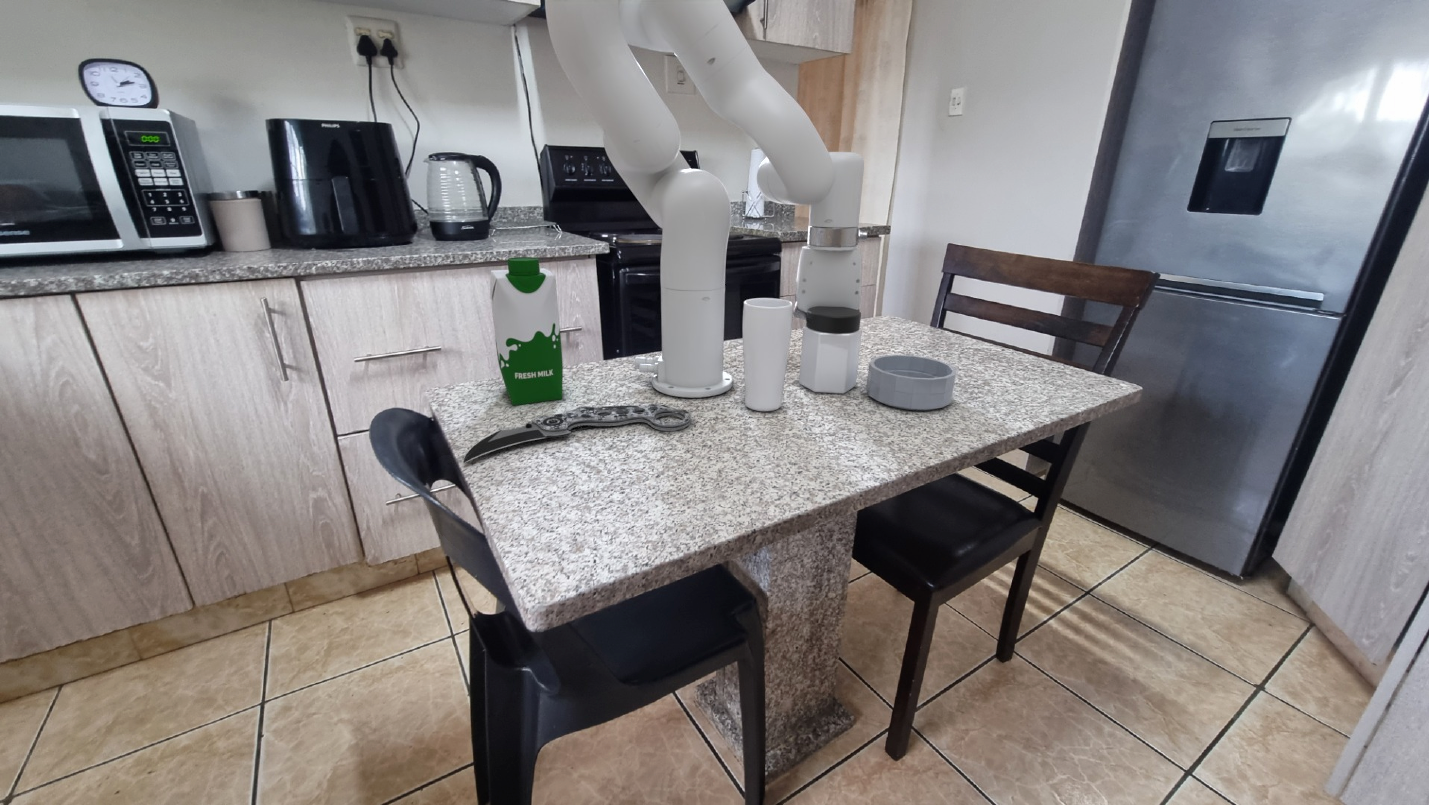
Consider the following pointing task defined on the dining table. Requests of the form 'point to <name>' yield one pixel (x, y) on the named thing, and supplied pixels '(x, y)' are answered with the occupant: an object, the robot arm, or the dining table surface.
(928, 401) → the bowl
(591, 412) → the knife
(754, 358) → the drinking glass
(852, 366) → the jar
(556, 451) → the dining table surface
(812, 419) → the dining table surface
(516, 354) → the milk carton
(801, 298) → the robot arm
